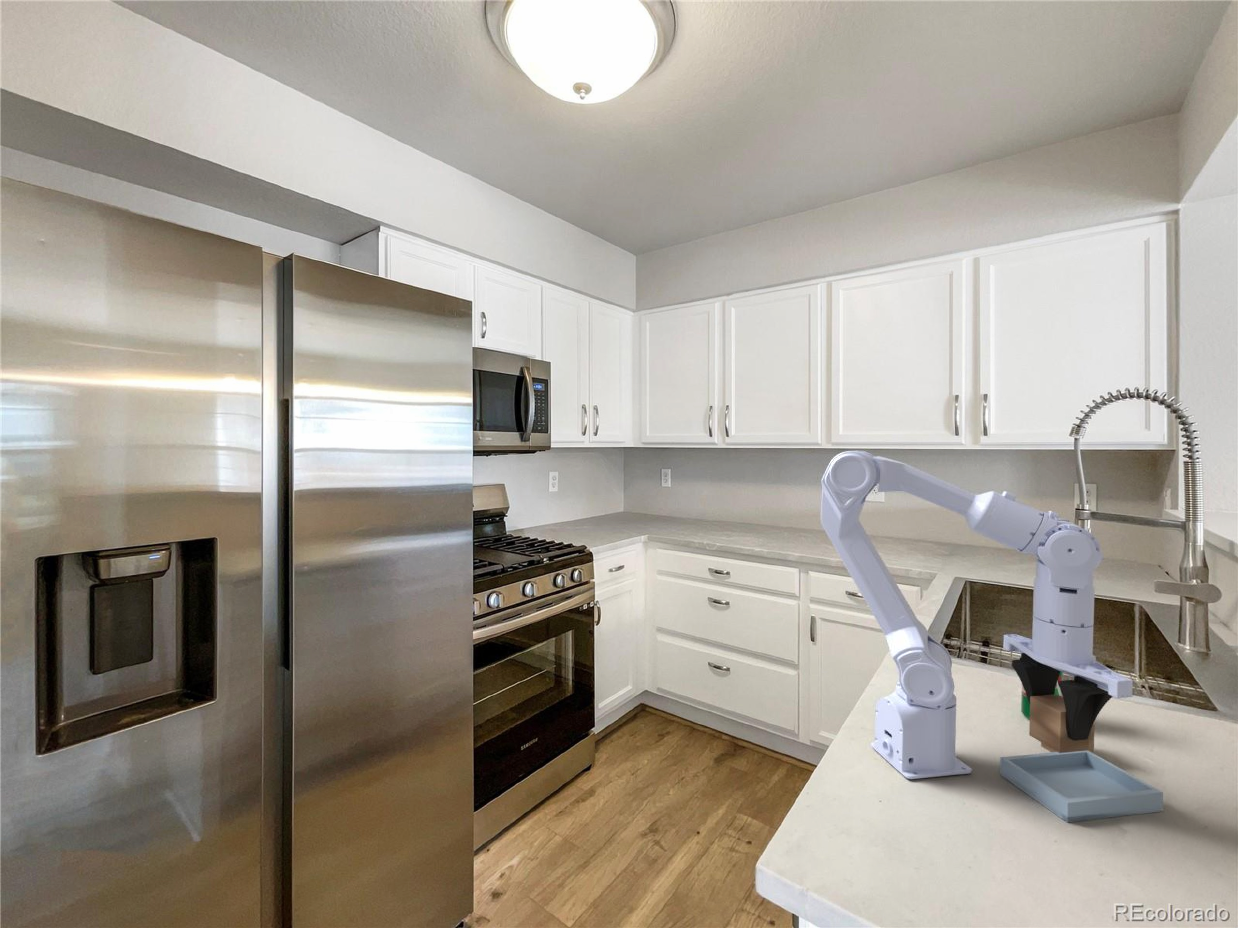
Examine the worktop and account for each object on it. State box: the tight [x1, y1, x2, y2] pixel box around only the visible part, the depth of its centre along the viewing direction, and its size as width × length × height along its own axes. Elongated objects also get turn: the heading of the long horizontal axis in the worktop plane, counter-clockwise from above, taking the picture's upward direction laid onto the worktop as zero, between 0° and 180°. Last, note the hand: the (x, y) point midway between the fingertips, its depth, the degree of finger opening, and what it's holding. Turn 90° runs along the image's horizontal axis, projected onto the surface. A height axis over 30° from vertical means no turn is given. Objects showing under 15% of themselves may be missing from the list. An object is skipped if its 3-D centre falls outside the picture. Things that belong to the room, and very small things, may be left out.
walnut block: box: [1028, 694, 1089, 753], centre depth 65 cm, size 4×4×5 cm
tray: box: [999, 750, 1164, 823], centre depth 66 cm, size 13×9×2 cm
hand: (1059, 728), depth 65 cm, fingers closed on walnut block, 4 cm apart
